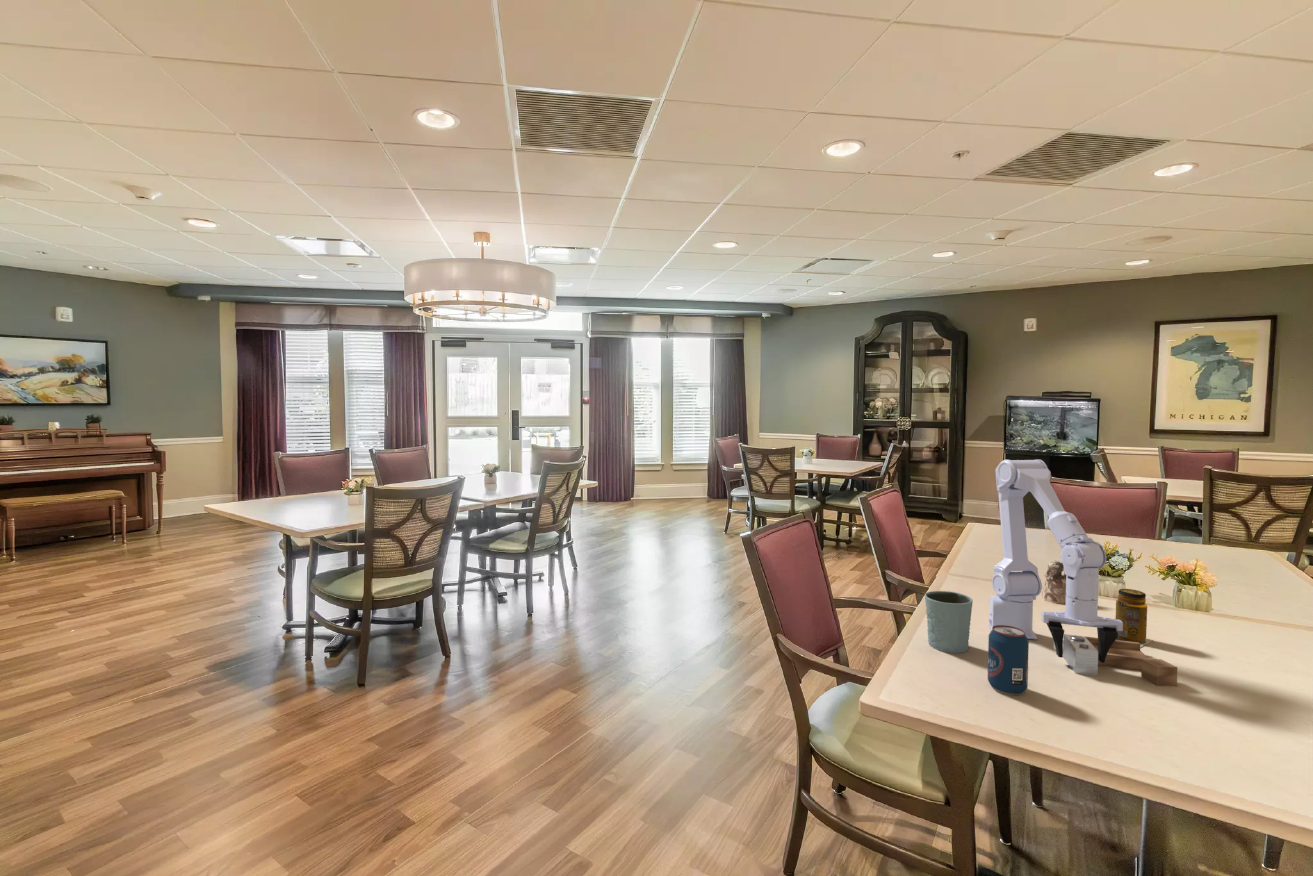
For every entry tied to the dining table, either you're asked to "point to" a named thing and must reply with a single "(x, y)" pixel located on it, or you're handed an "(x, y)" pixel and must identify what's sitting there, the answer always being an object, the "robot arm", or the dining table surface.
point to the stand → (1122, 654)
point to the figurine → (1055, 584)
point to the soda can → (1008, 660)
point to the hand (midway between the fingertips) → (1080, 658)
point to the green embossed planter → (948, 620)
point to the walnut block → (1159, 672)
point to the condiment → (1132, 616)
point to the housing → (1080, 655)
